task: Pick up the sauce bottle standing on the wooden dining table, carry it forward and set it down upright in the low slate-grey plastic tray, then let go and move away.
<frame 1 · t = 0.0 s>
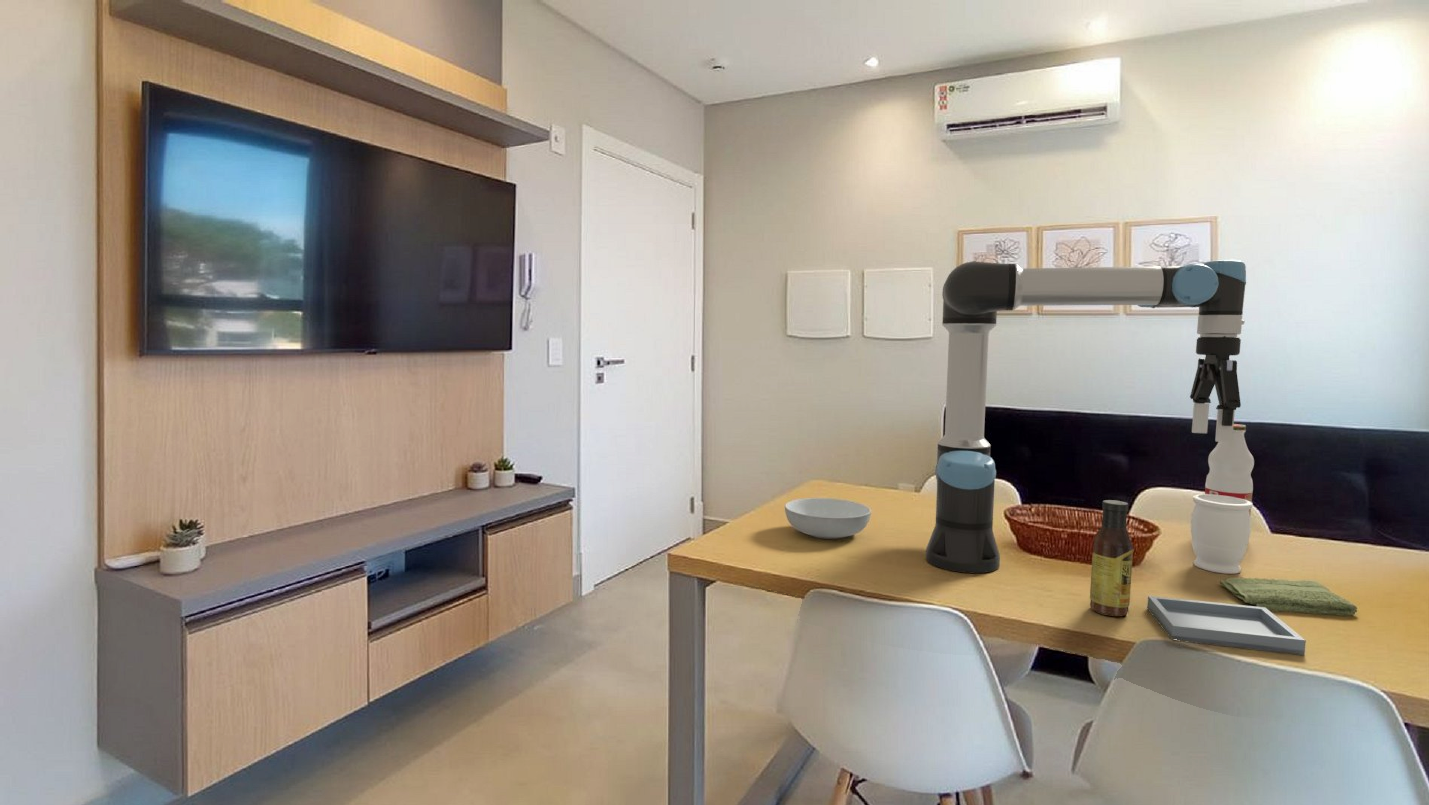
hand: (1210, 437, 151), 28 cm above the table, tool pointing down, fingers open, 13 cm apart
tray: (1219, 630, 120), on the table
fruit juice: (1224, 538, 176), on the table
serving bowl: (826, 534, 176), on the table
washcloth: (1284, 604, 134), on the table
jar: (1216, 569, 153), on the table
sauce bottle: (1108, 612, 128), on the table
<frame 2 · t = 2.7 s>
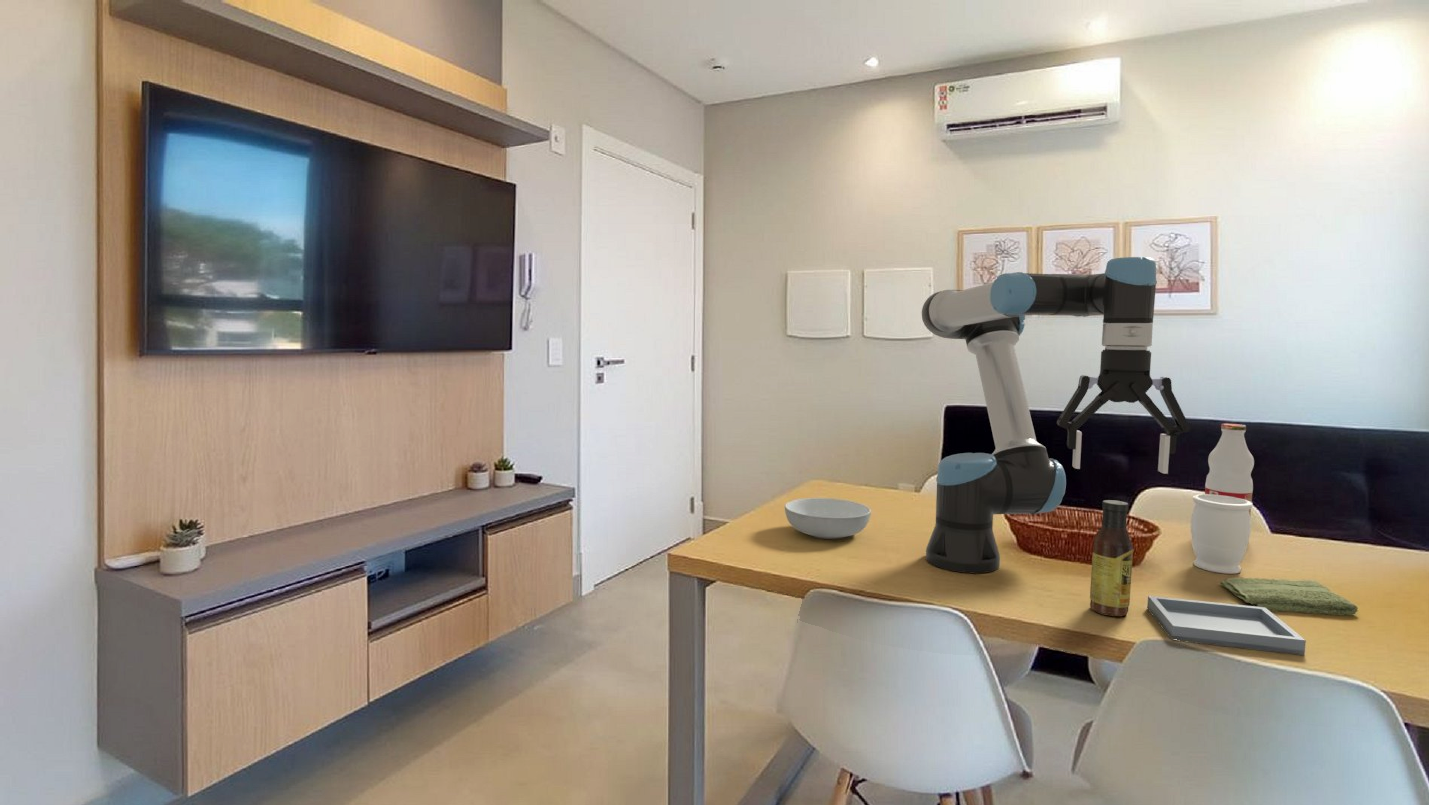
hand: (1118, 470, 125), 26 cm above the table, tool pointing down, fingers open, 13 cm apart
nothing on the table moved.
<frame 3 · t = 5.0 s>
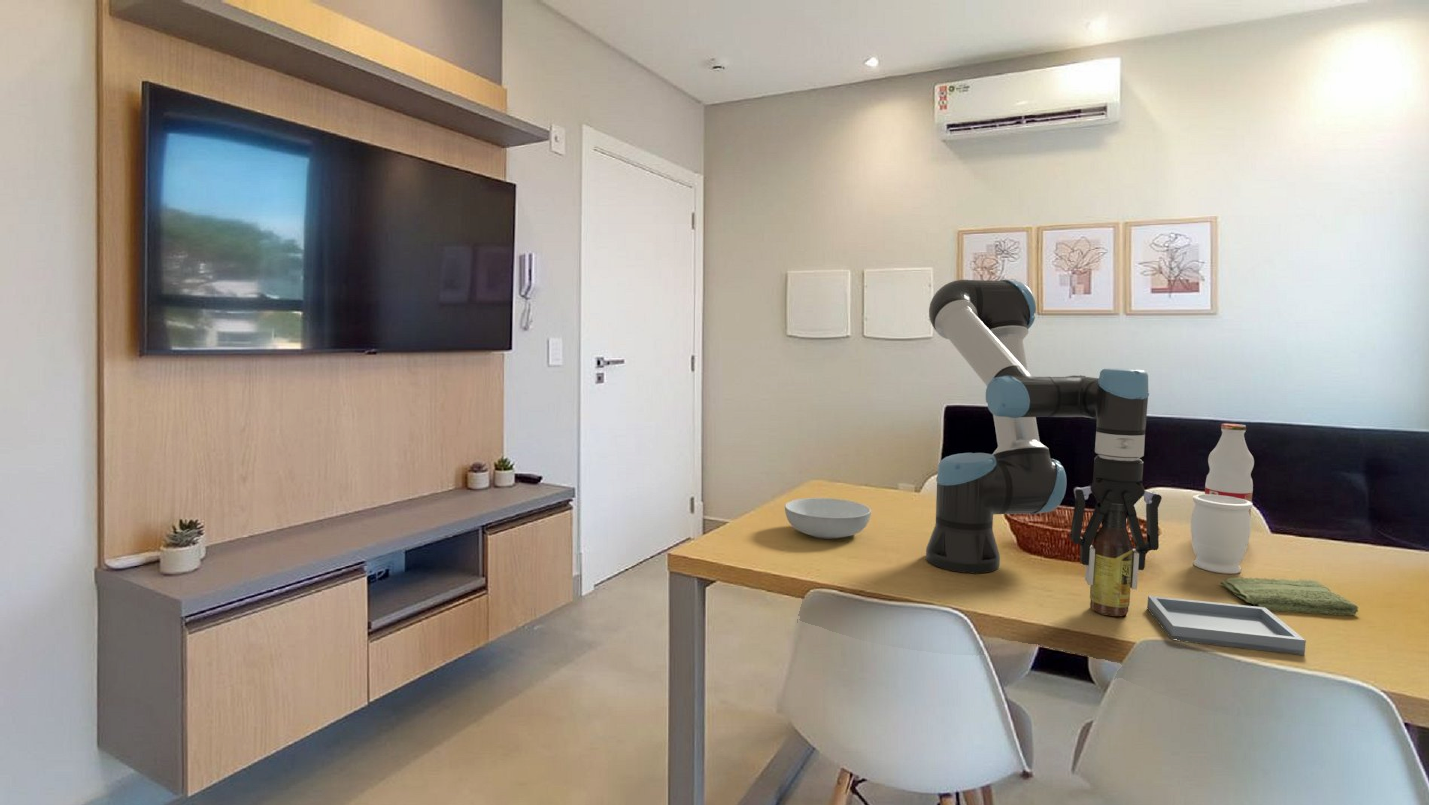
hand: (1110, 584, 128), 5 cm above the table, tool pointing down, fingers closed on sauce bottle, 6 cm apart
sauce bottle: (1108, 612, 128), on the table, touching gripper
everything else where it was.
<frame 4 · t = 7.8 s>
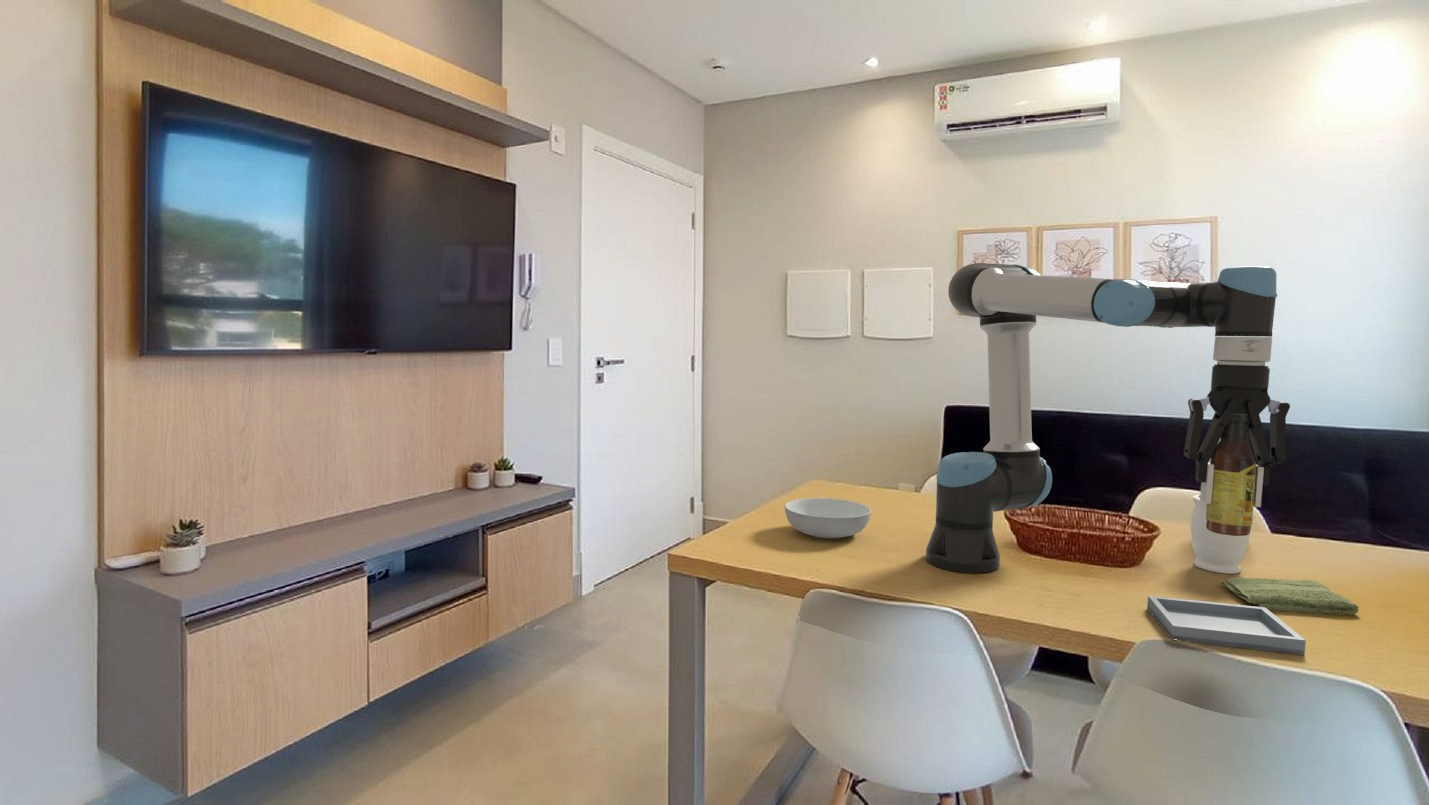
hand: (1229, 503, 118), 22 cm above the table, tool pointing down, fingers closed on sauce bottle, 6 cm apart
sauce bottle: (1227, 533, 118), point 17 cm above the table, touching gripper
everything else where it was.
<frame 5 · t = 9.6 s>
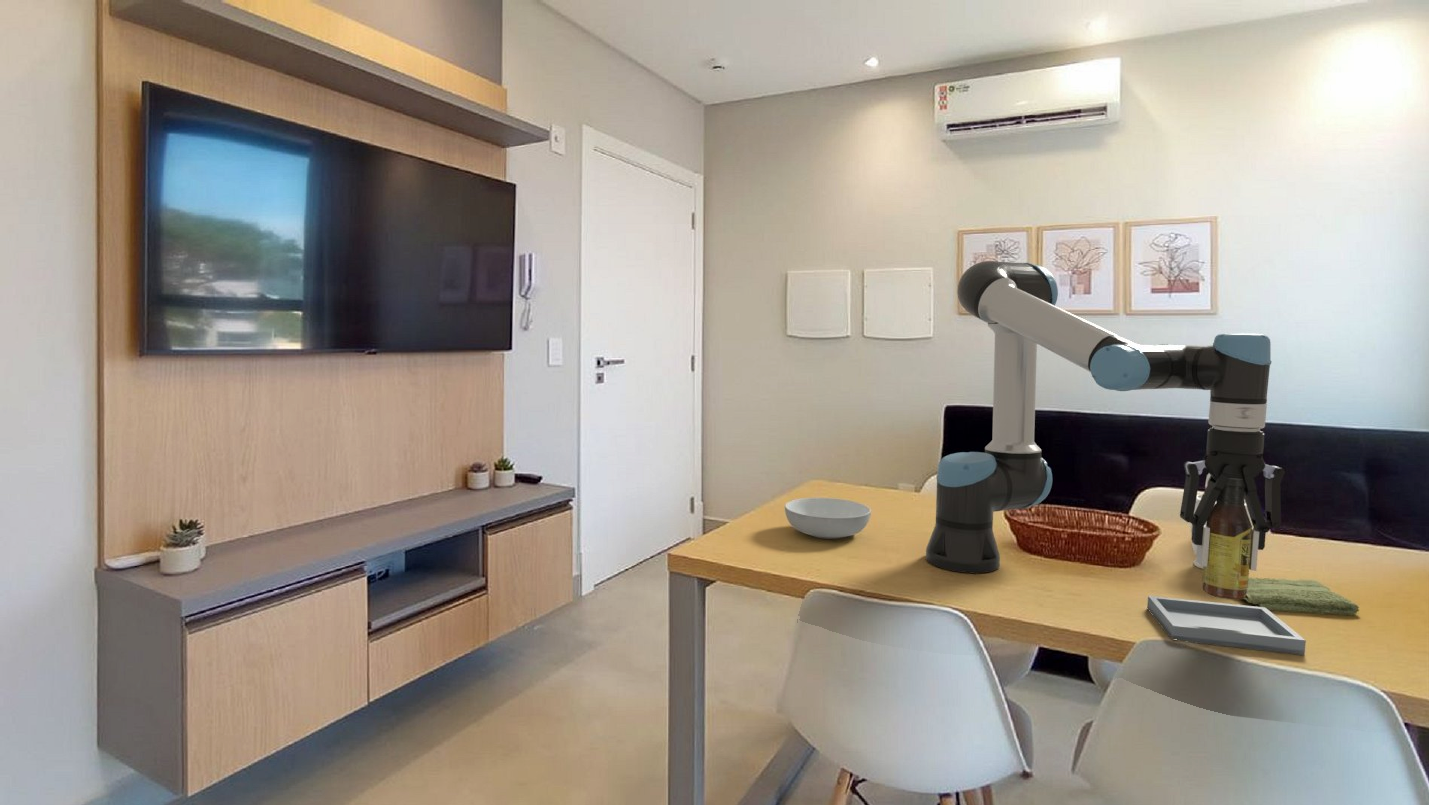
hand: (1225, 565, 119), 11 cm above the table, tool pointing down, fingers closed on sauce bottle, 6 cm apart
sauce bottle: (1223, 595, 119), point 6 cm above the table, touching gripper
everything else where it was.
when the fingers open (6 cm above the table, at t = 10.9 s): sauce bottle stays where it is, resting on tray.
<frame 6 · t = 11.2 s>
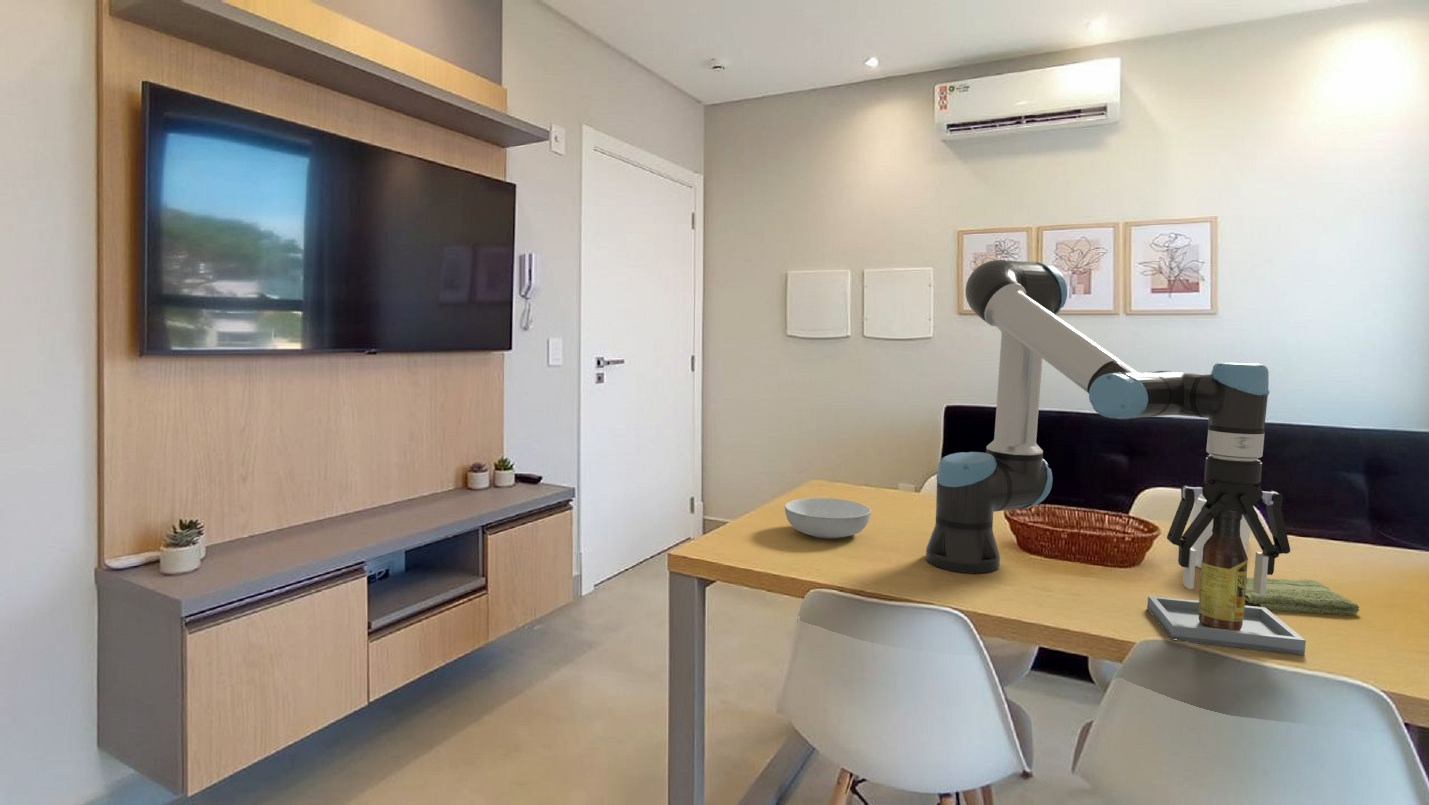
hand: (1223, 589, 119), 7 cm above the table, tool pointing down, fingers open, 9 cm apart
sauce bottle: (1219, 626, 120), point 1 cm above the table, touching tray
everything else where it was.
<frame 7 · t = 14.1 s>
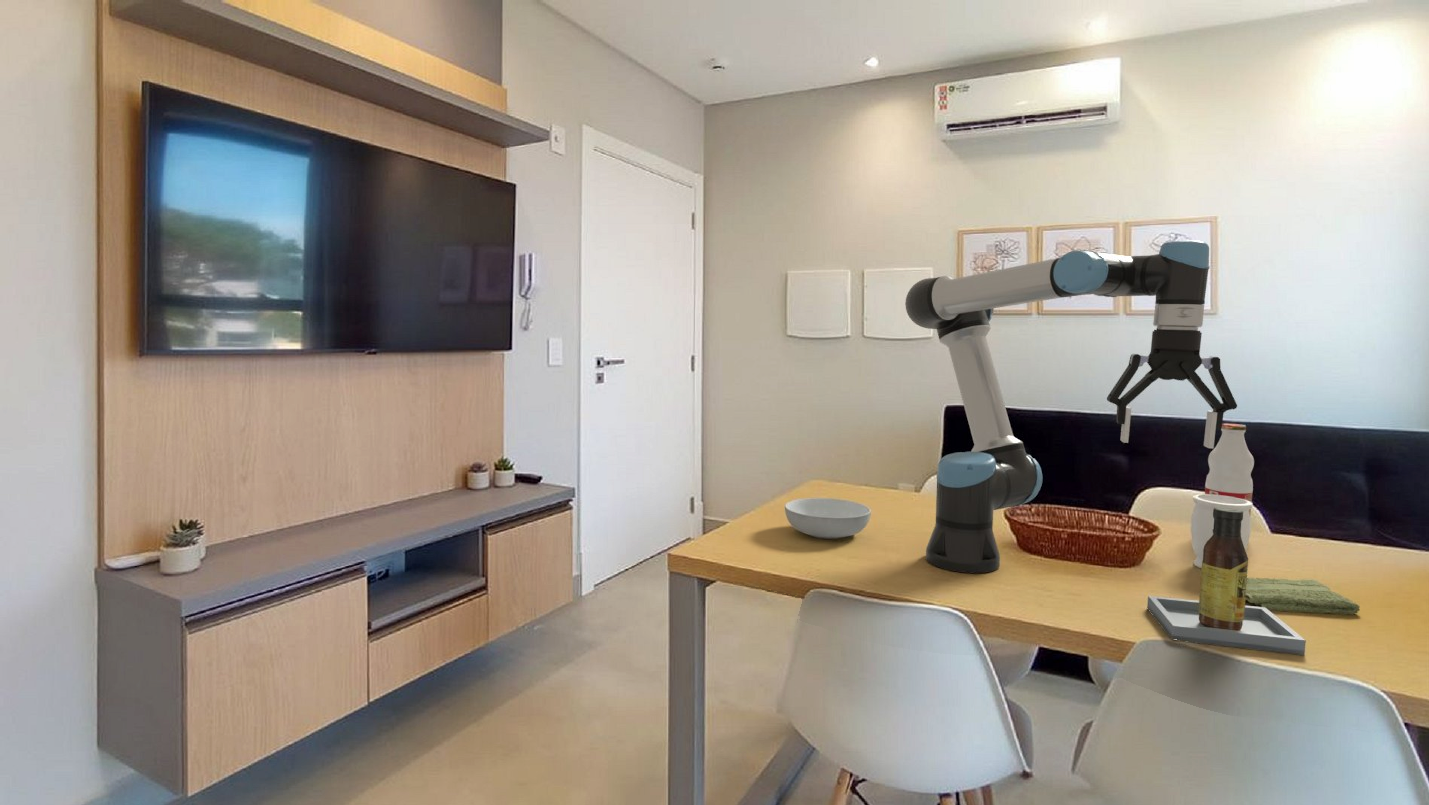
hand: (1165, 444, 132), 29 cm above the table, tool pointing down, fingers open, 13 cm apart
nothing on the table moved.
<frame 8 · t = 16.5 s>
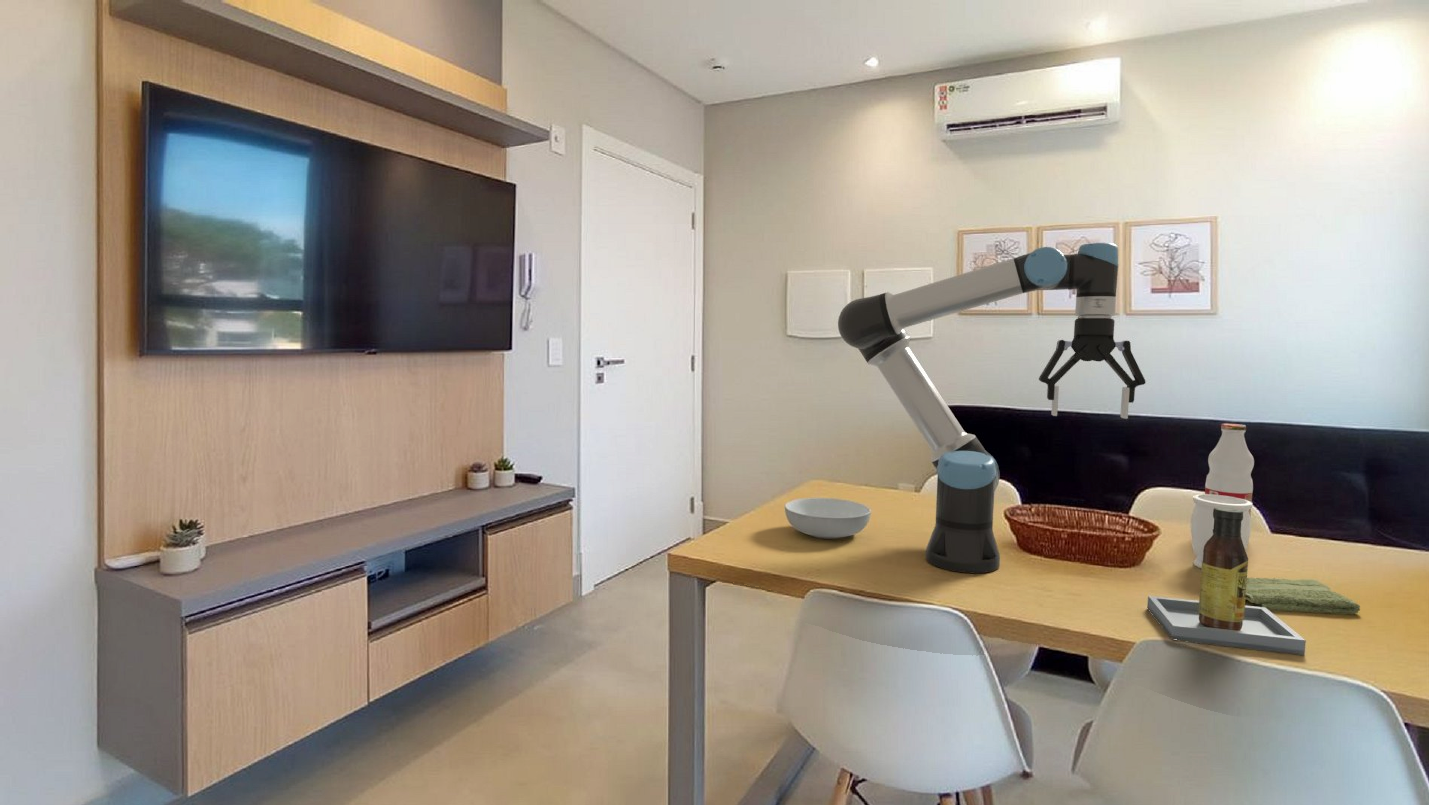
hand: (1088, 416, 154), 32 cm above the table, tool pointing down, fingers open, 13 cm apart
nothing on the table moved.
at the end: sauce bottle inside the target area on the tray (0.1 cm from its centre), point 0.6 cm above the tray's base; sauce bottle tilted 0°; the gripper is holding nothing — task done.
